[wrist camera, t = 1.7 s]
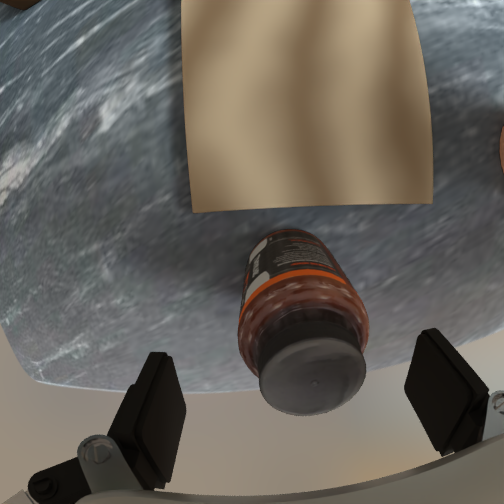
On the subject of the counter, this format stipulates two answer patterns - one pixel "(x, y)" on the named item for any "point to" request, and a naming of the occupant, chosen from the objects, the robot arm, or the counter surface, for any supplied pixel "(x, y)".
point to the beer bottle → (20, 3)
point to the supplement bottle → (301, 325)
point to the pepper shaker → (502, 148)
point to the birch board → (304, 104)
